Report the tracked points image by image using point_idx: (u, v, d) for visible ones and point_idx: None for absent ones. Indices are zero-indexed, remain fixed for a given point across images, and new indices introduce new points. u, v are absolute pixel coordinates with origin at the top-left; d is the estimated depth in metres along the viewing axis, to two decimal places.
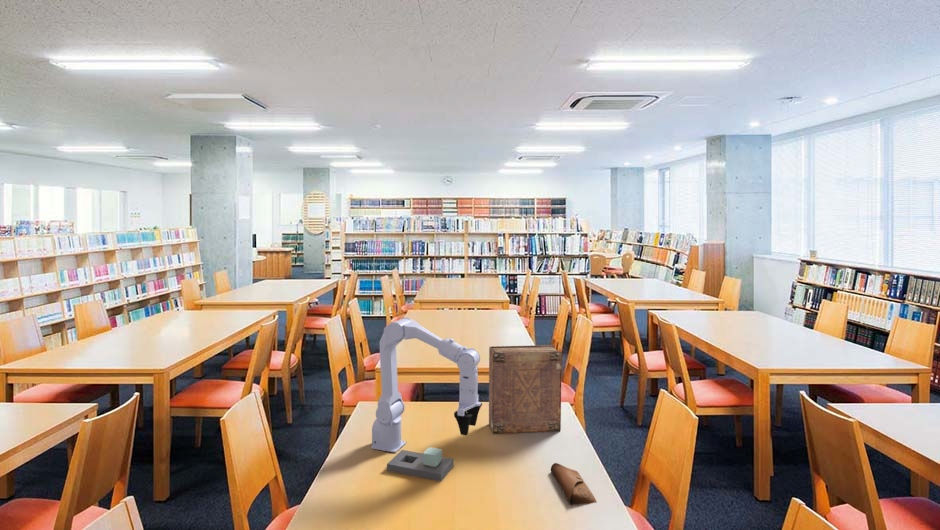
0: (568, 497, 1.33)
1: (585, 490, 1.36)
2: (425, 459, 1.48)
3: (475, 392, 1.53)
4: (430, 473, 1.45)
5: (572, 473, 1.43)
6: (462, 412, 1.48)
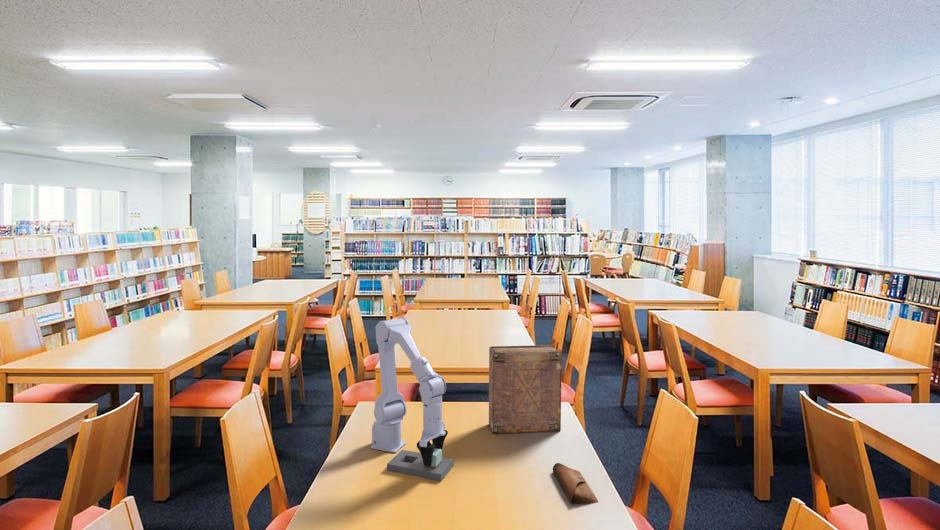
0: (570, 497, 1.33)
1: (587, 490, 1.36)
2: None
3: (439, 421, 1.47)
4: (430, 473, 1.45)
5: (573, 473, 1.43)
6: (424, 443, 1.42)
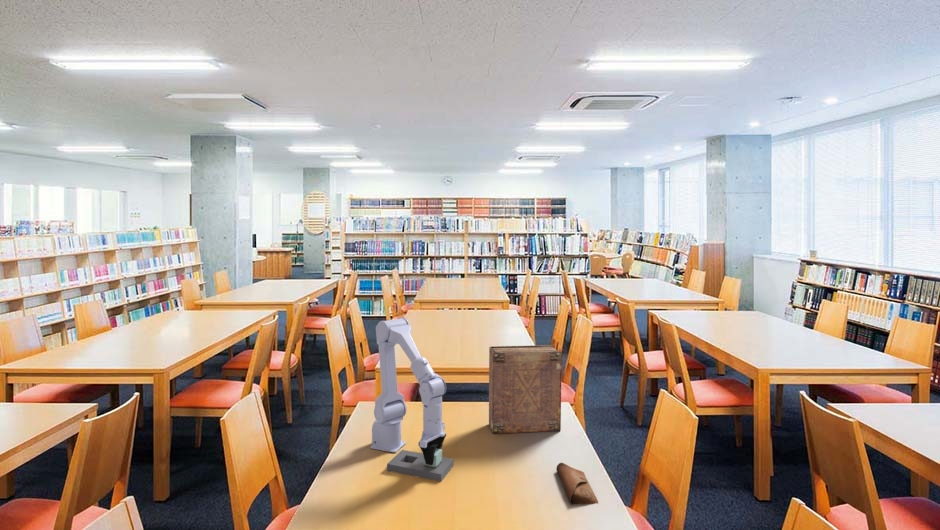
0: (569, 497, 1.33)
1: (588, 490, 1.36)
2: None
3: (439, 422, 1.47)
4: (430, 473, 1.45)
5: (576, 473, 1.43)
6: (424, 444, 1.42)
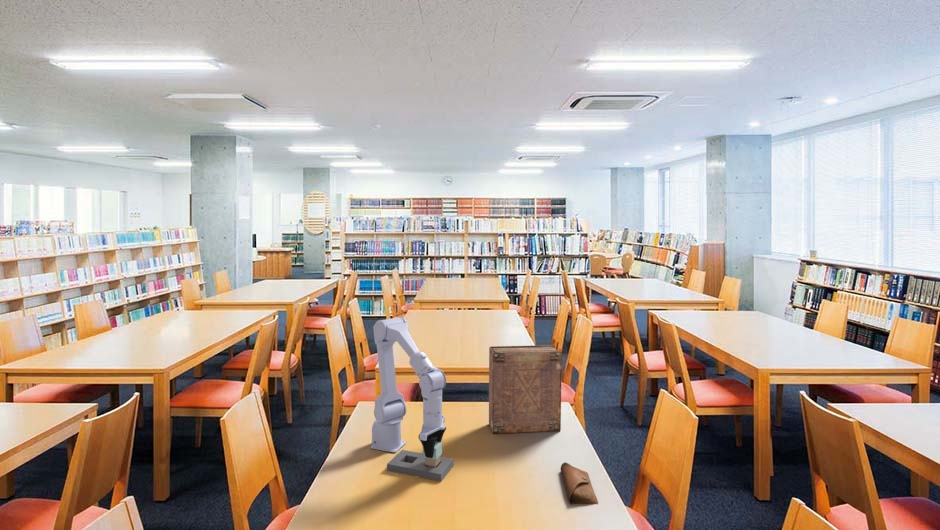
0: (569, 496, 1.34)
1: (588, 491, 1.36)
2: None
3: (439, 415, 1.47)
4: (430, 473, 1.45)
5: (578, 473, 1.43)
6: (424, 436, 1.42)
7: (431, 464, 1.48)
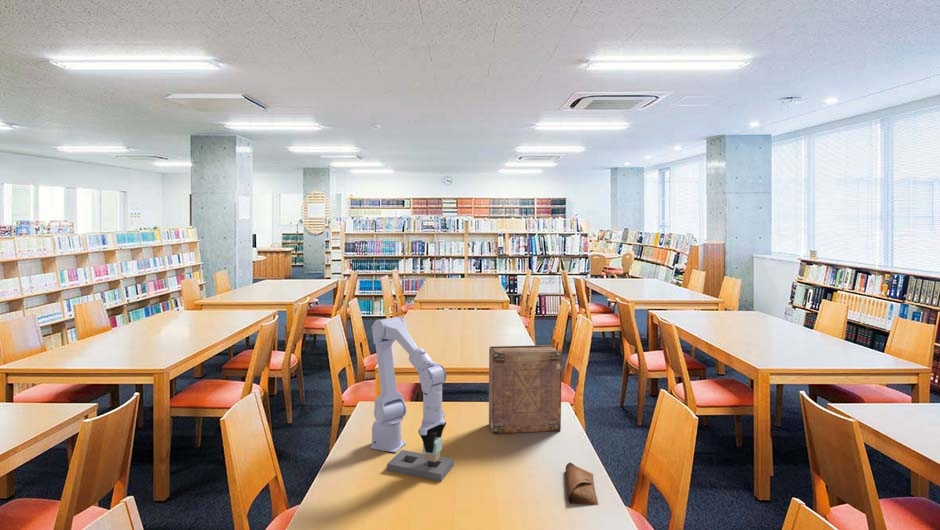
0: (568, 495, 1.34)
1: (589, 491, 1.36)
2: None
3: (439, 410, 1.47)
4: (430, 473, 1.45)
5: (581, 474, 1.42)
6: (424, 431, 1.42)
7: (431, 459, 1.48)
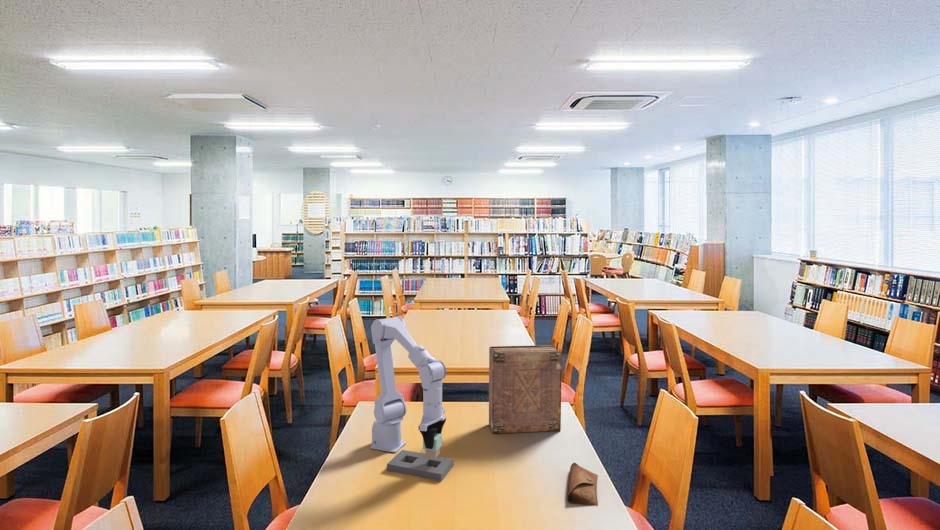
0: (568, 495, 1.34)
1: (590, 492, 1.35)
2: None
3: (439, 406, 1.47)
4: (430, 473, 1.45)
5: (584, 474, 1.42)
6: (424, 427, 1.42)
7: (431, 455, 1.48)
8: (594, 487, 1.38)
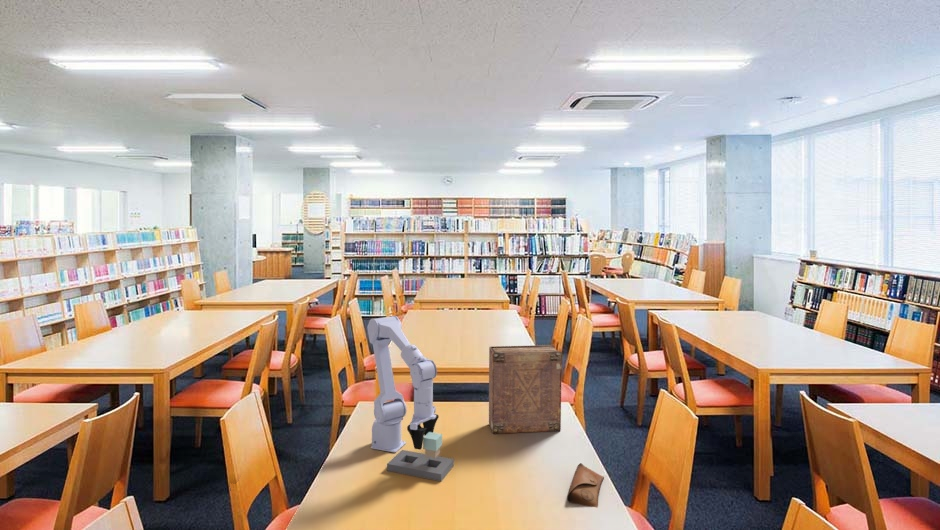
0: (568, 494, 1.34)
1: (591, 493, 1.35)
2: (425, 443, 1.48)
3: (430, 405, 1.48)
4: (430, 473, 1.45)
5: (588, 475, 1.42)
6: (415, 426, 1.43)
7: (431, 455, 1.48)
8: (597, 488, 1.38)
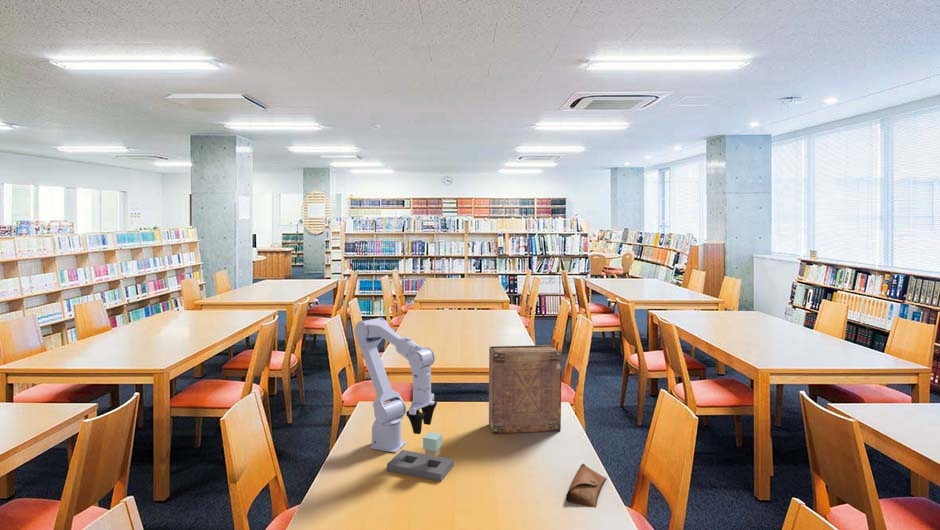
0: (567, 493, 1.35)
1: (590, 493, 1.35)
2: (425, 443, 1.48)
3: (428, 391, 1.53)
4: (430, 473, 1.45)
5: (589, 475, 1.41)
6: (413, 411, 1.48)
7: (431, 455, 1.48)
8: (597, 489, 1.37)
